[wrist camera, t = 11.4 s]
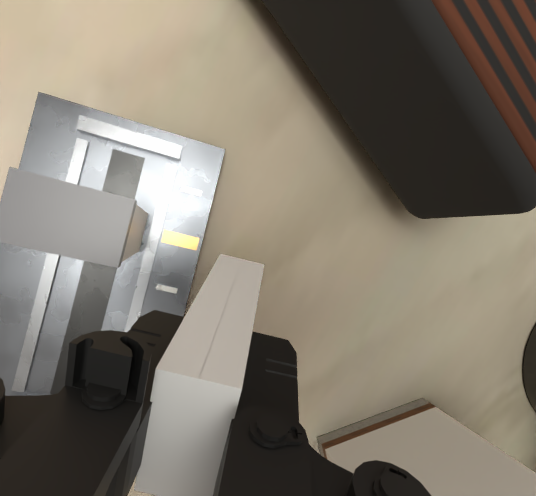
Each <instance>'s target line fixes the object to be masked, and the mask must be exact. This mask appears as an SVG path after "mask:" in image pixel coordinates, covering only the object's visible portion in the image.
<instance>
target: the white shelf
mask: <svg viewBox="0 0 536 496" xmlns="http://www.w3.org/2000/svg"><path fill="white" fill-rule="evenodd" d="M317 441H318V445H319V450H320V454H321V456H323V457H324V458H326V459H327V460H329V461H331V462H332V463H334V464H336V465H338V466H340V467H342V468H344V469H346V470H348V471H350V472H352V473H354V471H355V469H356V468H357V467H358V466H360V465H361V464H362V463H363V462H367V461H373V460H378V461H383V462H388V463H392V464H394V465H396V466H398V467H400V468H402V469H404V470H406V471H407V472H409V473H410V474H411V475H412V476H414V477H415V478H416V479H417V480H419V481H420V482H421V483H422V485H423V486H424V487H425V488H426V489H427V491H428V492H429V493H430V494H431V496H536V473H535V472H534V471H532V470H531V469H529V468H528V467H526V466H525V465H523V464H522V463H520V462H519V461H517V460H516V459H514V458H513V457H511V456H510V455H508V454H507V453H505V452H504V451H502V450H501V449H499V448H497V447H496V446H494V445H493V444H491V443H490V442H488V441H487V440H485V439H484V438H482V437H481V436H479V435H478V434H476V433H475V432H473V431H472V430H470V429H469V428H467V427H466V426H464V425H463V424H461V423H460V422H458V421H457V420H455V419H454V418H452V417H451V416H449V415H448V414H446V413H445V412H443V411H442V410H440V409H439V408H437V407H436V406H434V405H432V404H431V403H429V402H428V401H426V400H425V399H423V398H421V399H418V400H416V401H413V402H410V403H408V404H405V405H402V406H399V407H397V408H394V409H391V410H389V411H386V412H383V413H381V414H378V415H375V416H373V417H370V418H367V419H365V420H362V421H359V422H357V423H354V424H351V425H349V426H346V427H343V428H341V429H338V430H335V431H333V432H330V433H327V434H324V435H322V436H319V437H317Z"/></svg>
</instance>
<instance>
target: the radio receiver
mask: <svg viewBox="0 0 536 496" xmlns="http://www.w3.org/2000/svg"><path fill="white" fill-rule="evenodd" d="M262 1H263V3H264V4H265V6H266V7H267V9H268V10H269V12H270V13H271V14H272V16H273V17H274V19H275V20H276V22H277V23H278V25H279V26H280V27H281V29H282V30H283V32H284V33H285V35H286V36H287V38H288V39H289V40H290V42H291V43H292V45H293V46H294V48H295V49H296V51H297V52H298V53H299V55H300V56H301V58H302V59H303V61H304V62H305V63H306V65H307V66H308V68H309V69H310V71H311V72H312V74H313V75H314V76H315V78H316V79H317V81H318V82H319V84H320V85H321V87H322V88H323V89H324V91H325V92H326V94H327V95H328V97H329V98H330V100H331V101H332V102H333V104H334V105H335V107H336V108H337V110H338V111H339V113H340V114H341V115H342V117H343V118H344V120H345V121H346V123H347V124H348V126H349V127H350V128H351V130H352V131H353V133H354V134H355V136H356V137H357V138H358V140H359V141H360V143H361V144H362V146H363V147H364V149H365V150H366V151H367V153H368V154H369V156H370V157H371V159H372V160H373V162H374V163H375V164H376V166H377V167H378V169H379V170H380V172H381V173H382V175H383V176H384V177H385V179H386V180H387V182H388V183H389V185H390V186H391V188H392V189H393V190H394V192H395V193H396V195H397V196H398V198H399V199H400V200H401V202H402V203H403V205H404V206H405V208H406V209H407V210H408V211H409V212H410V213H411V214H413V215H414V216H416V217H418V218H422V219H429V218H448V217H467V216H485V215H504V214H520V213H525V212H528V211H531V210H532V209H534V208H535V207H536V0H262Z"/></svg>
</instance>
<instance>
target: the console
mask: <svg viewBox="0 0 536 496" xmlns="http://www.w3.org/2000/svg"><path fill="white" fill-rule="evenodd" d="M224 153H225V149H223V148H219V147H216V146H213V145H210V144H206V143H203V142H200V141H197V140H193V139H190V138H187V137H184V136H180V135H177V134H174V133H171V132H167V131H164V130H161V129H158V128H154V127H151V126H148V125H145V124H141V123H138V122H135V121H132V120H128V119H125V118H122V117H119V116H115V115H112V114H109V113H106V112H102V111H99V110H96V109H93V108H89V107H86V106H83V105H80V104H76V103H73V102H70V101H67V100H64V99H60V98H57V97H54V96H51V95H47V94H44V93H41V92H38V96H37V100H36V104H35V108H34V111H33V115H32V119H31V123H30V127H29V131H28V134H27V138H26V142H25V146H24V150H23V154H22V157H21V161H20V165H19V169H20V170H24V171H27V172H31V173H35V174H39V175H43V176H46V177H50V178H54V179H58V180H62V181H66V182H69V183H73V184H77V185H81V186H85V187H89V188H92V189H96V190H100V191H104V192H108V193H112V194H115V195H119V196H123V197H127V198H131V199H134V200H136V201H137V205H138V206H139V207H140V208H142V209H143V210H144V211H146V212H147V213H148V214H149V215H148V219H147V222H146V226H145V230H144V234H143V238H142V242H141V246H140V250H139V252H137V253H136V254H134V255H133V256H131V257H129V258H128V259H126V260H124V261H123V262H122V263H121V266H120V267H119V268H115V267H111V266H106V265H101V264H97V263H92V262H88V261H83V260H79V259H74V258H69V257H65V256H60V255H56V254H51V253H46V252H42V251H37V250H33V249H28V248H24V247H19V246H14V245H10V244H5V243H1V242H0V378H1V379H2V380H3V382H4V386H5V396H39V395H52V394H57V393H59V392H60V390H61V389H62V388H63V387H64V386H65V380H66V370H67V360H68V350H69V343H70V342H71V341H73V340H74V339H76V338H77V337H79V336H81V335H84V334H87V333H91V332H94V331H106V330H113V331H121V332H128V331H129V330H130V329H131V327H132V326H133V324H134V323H135V322H136V321H137V319H138V318H139V317H140V316H143V315H145V314H147V313H149V312H151V311H153V310H158V311H162V312H166V313H170V314H174V315H179V316H184V312H185V308H186V304H187V300H188V296H189V293H190V289H191V285H192V281H193V277H194V273H195V269H196V265H197V261H198V257H199V253H200V249H201V245H202V241H203V237H204V233H205V229H206V225H207V221H208V217H209V213H210V209H211V205H212V201H213V197H214V193H215V189H216V185H217V181H218V177H219V173H220V169H221V165H222V161H223V157H224Z"/></svg>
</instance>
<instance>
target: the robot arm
mask: <svg viewBox="0 0 536 496" xmlns="http://www.w3.org/2000/svg"><path fill="white" fill-rule="evenodd" d="M264 265H265V264H261V263H257V262H253V261H249V260H245V259H241V258H237V257H233V256H228V255H224V254H220V255H219V257H218V258H217V260H216V262H215V264H214V266H213V267H212V269H211V271H210V273H209V275H208V276H207V278H206V280H205V282H204V283H203V285H202V287H201V289H200V291H199V292H198V294H197V296H196V298H195V299H194V301H193V303H192V305H191V307H190V308H189V310H188V312H187V314H186V316H185V317H183V316H179V315H174V314H170V313H166V312H162V311H158V310H153V311H151V312H149V313H147V314H145V315H143V316H140V317H139V318H138V319H137V321H136V322H135V323H134V324H133V326H132V327H131V329H130V330H129V331H128V332H121V331H113V330H106V331H94V332H91V333H87V334H84V335H81V336H79V337H77V338H76V339H74V340H73V341H71V342H70V343H69V350H68V360H67V370H66V380H65V386H64V387H63V388H62V389H61V390H60V392H59V393H57V394H52V395H39V396H5V386H4V382H3V380H2V379H1V378H0V496H127V495H128V493H129V491H130V488H131V486H132V484H133V482H134V479H135V477H136V482H135V487H134V490H135V491H139V492H143V493H148V494H152V495H156V496H431V494H430V493H429V492H428V491H427V489H426V488H425V487H424V486H423V485H422V483H421V482H420V481H419V480H417V479H416V478H415V477H414V476H412V475H411V474H410V473H409V472H407V471H406V470H404V469H402V468H400V467H398V466H396V465H394V464H392V463H388V462H383V461H378V460H373V461H367V462H363V463H362V464H361V465H360V466H358V467H357V468H356V469H355V471H354V473H352V472H350V471H348V470H346V469H344V468H342V467H340V466H338V465H336V464H334V463H332V462H331V461H329V460H327V459H326V458H324V457H323V456H321V455H320V454H319V453H317V452H316V451H315V450H314V449H313V448H312V447H311V446H310V445H309V442H308V438H307V435H306V432H305V429H304V428H303V427H302V426H301V424H300V423H299V412H298V384H297V368H296V367H297V356H296V351H295V350H294V348H293V347H292V345H291V344H290V342H289V341H288V340H285V339H281V338H277V337H273V336H269V335H264V334H260V333H256V332H252V331H253V325H254V320H255V314H256V309H257V303H258V298H259V292H260V287H261V281H262V276H263V270H264ZM523 376H524V384H525V389H526V392H527V396H528V398H529V401H530V403H531V405H532V406H533V408H534V410H535V411H536V326H535V327H534V329H533V331H532V333H531V336H530V338H529V341H528V344H527V347H526V351H525V356H524V365H523ZM136 475H137V476H136Z"/></svg>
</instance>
